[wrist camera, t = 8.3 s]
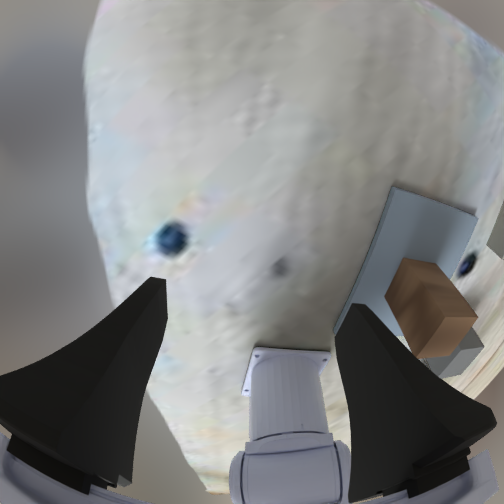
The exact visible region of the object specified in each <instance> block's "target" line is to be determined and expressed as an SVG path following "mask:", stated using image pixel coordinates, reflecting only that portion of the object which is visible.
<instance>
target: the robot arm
mask: <svg viewBox="0 0 504 504" xmlns="http://www.w3.org/2000/svg"><path fill="white" fill-rule="evenodd" d="M167 320H168V313H167V292H166V279H161V278H155V277H150V278H148V279H147V280H146V281H145V282H144V283H143V284H142V285H141V286H140V287H139V288H138V289H137V290H136V291H134V292H133V293H132V294H131V295H130V296H129V297H128V298H127V299H126V300H125V301H124V302H122V303H121V304H120V305H119V306H118V307H117V308H116V309H115V310H114V311H112V312H111V313H110V314H109V315H108V316H107V317H105V318H104V319H103V320H102V321H100V322H99V323H98V324H97V325H95V326H94V327H93V328H91V329H90V330H89V331H87V332H86V333H85V334H83V335H82V336H80V337H79V338H77V339H76V340H75V341H73V342H71V343H70V344H68V345H66V346H65V347H63V348H61V349H60V350H58V351H56V352H54V353H53V354H51V355H49V356H47V357H45V358H43V359H41V360H39V361H37V362H35V363H33V364H30V365H28V366H26V367H24V368H21V369H18V370H16V371H13V372H10V373H7V374H4V375H1V376H0V424H1V425H2V426H3V427H4V428H6V429H7V430H8V431H9V432H11V433H12V436H11V439H9V438H7V437H6V436H5V435H3V434H2V433H1V432H0V503H1V504H153V503H149V502H145V501H141V500H138V499H134V498H130V497H127V496H124V495H121V494H117V493H115V492H112V491H109V490H107V485H108V486H111V487H113V488H116V487H117V485H119V486H123V487H125V486H127V485H130V484H131V483H132V472H133V459H134V450H135V441H136V434H137V428H138V421H139V416H140V410H141V406H142V401H143V397H144V393H145V389H146V386H147V383H148V380H149V378H150V375H151V372H152V369H153V366H154V363H155V361H156V358H157V355H158V352H159V349H160V347H161V344H162V341H163V337H164V333H165V328H166V324H167ZM335 347H336V356H337V362H338V366H339V370H340V374H341V379H342V383H343V387H344V391H345V395H346V400H347V404H348V410H349V418H350V429H351V454H350V450H349V448H348V446H347V445H346V444H344V443H343V442H342V441H341V440H337V441H333V434H332V433H329V429H328V423H327V417H326V410H325V404H324V399H323V393H322V387H321V382H320V374H321V373H322V371H323V369H324V368H325V366H326V365H327V363H328V361H329V360H330V358H331V353H330V352H325V351H303V350H288V349H275V348H264V347H256V348H254V349H253V352H252V355H251V359H250V363H249V366H248V370H247V373H246V377H245V381H244V384H243V388H242V391H241V395H243V396H250V405H249V438H250V442H246V443H245V451H239V452H238V453H237V455H236V456H235V457H234V458H233V459H232V462H231V465H230V471H229V490H230V496H231V499H232V502H233V504H352V503H354V502H358V501H362V500H367V499H370V498H374V497H377V496H381V495H383V497H381V498H378V499H374V500H371V501H367V502H363V503H359V504H484V503H485V502H486V501H487V500H488V499H489V498H491V497H492V496H493V495H494V494H496V493H497V492H498V490H499V487H498V483H497V480H496V475H495V471H494V467H493V464H492V461H491V458H490V454H489V451H488V450H487V449H486V450H485V451H483V452H481V453H480V454H478V455H476V456H475V457H473V458H471V459H470V460H467V455H469V454H470V452H471V451H470V448H469V447H470V446H471V445H473V444H474V443H475V442H477V441H478V440H480V439H481V438H482V437H484V436H485V435H486V434H488V433H489V432H490V431H491V430H493V428H495V427H496V424H497V422H496V419H495V417H494V414H493V412H492V410H491V408H489V407H487V406H485V405H483V404H481V403H479V402H477V401H474V400H473V399H471V398H469V397H468V396H466V395H464V394H462V393H461V392H459V391H458V390H456V389H455V388H453V387H452V386H450V385H449V384H447V383H446V382H445V381H443V380H442V379H441V378H439V377H438V376H437V375H436V374H434V373H433V372H432V371H431V370H430V369H429V368H427V367H426V366H425V365H424V364H423V363H422V362H421V361H420V360H418V359H417V358H416V357H415V356H414V355H413V354H412V353H411V352H410V351H409V350H408V349H407V348H406V347H405V346H404V345H403V344H402V342H401V341H400V340H399V339H398V338H397V337H396V336H395V335H394V334H393V333H392V332H391V331H390V330H389V328H388V327H387V326H386V325H385V324H384V323H383V322H382V321H381V320H380V319H379V318H378V316H377V315H376V314H375V313H374V312H373V311H372V310H371V309H370V308H369V307H368V306H367V305H366V304H359V303H352V304H351V306H350V308H349V310H348V312H347V314H346V316H345V318H344V320H343V322H342V324H341V326H340V328H339V330H338V332H337V334H336V336H335Z"/></svg>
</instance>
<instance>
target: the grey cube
mask: <svg viewBox="0 0 504 504" xmlns="http://www.w3.org/2000/svg"><path fill="white" fill-rule="evenodd" d="M483 348H484V345H483V343H482V342H481V340H480V339H479V337H478V335H477V334H476V332H475V331H474V329H473V328H472V327H471V328H470V330H469V331H468V332H467V334H466V335H465V336H464V338H463V339H462V340H461V342H460V343H459V344H458V346H457V347H456V348H455V349H454V351H453V352H452V353H451V354H450V355H449V356H441V357H432V358H426V360H427V362H428V364H429V366H430V369H431V371H432V372H433V373H434V374H436V375H437V376H438V377H439V378H441V379H442V378H447V377H452V376H456V375H461V374H462V373H463V371H464V370H465V369H466V368H467V367H468V366H469V365H470V364H471V362H472V361H473V360H474V359H475V358H476V357H477V355H478V354H479V353H480V352H481V350H482V349H483Z"/></svg>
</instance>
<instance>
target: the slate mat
mask: <svg viewBox="0 0 504 504" xmlns="http://www.w3.org/2000/svg"><path fill="white" fill-rule="evenodd" d="M477 221H478V218H477V217H476V216H474V215H472V214H469V213H467V212H464V211H462V210H459V209H457V208H454V207H452V206H449V205H446V204H444V203H441V202H438V201H436V200H433V199H430V198H427V197H424V196H421V195H418V194H415V193H412V192H409V191H406V190H403V189H400V188H397V187H393V186H392V187H391V191H390V194H389V197H388V200H387V203H386V206H385V209H384V212H383V214H382V217H381V220H380V223H379V226H378V228H377V231H376V234H375V236H374V239H373V241H372V244H371V247H370V249H369V252H368V254H367V257H366V259H365V261H364V264H363V266H362V269H361V271H360V273H359V276H358V278H357V280H356V283H355V285H354V287H353V289H352V292H351V294H350V296H349V298H348V300H347V302H346V305H345V307H344V309H343V311H342V313H341V315H340V317H339V319H338V321H337V323H336V325H335V327H334V329H333V331H334V334H337V332H338V330H339V328H340V326H341V324H342V322H343V320H344V318H345V316H346V314H347V312H348V310H349V308H350V306H351V304H352V303H359V304H366V305H367V306H368V307H369V308H370V309H371V310H372V311H373V312H374V313H375V314H376V315H377V316H378V318H379V319H380V320H381V321H382V322H383V323H384V324H385V325H386V326H387V327H388V328H389V330H390V331H391V332H392V333H393V334H394V335H395V336H404V335H403V333H402V331H401V329H400V327H399V325H398V323H397V321H396V319H395V317H394V315H393V313H392V311H391V309H390V307H389V305H388V303H387V301H386V300H385V298H384V296H385V294H386V292H387V290H388V288H389V286H390V284H391V282H392V280H393V278H394V276H395V274H396V271H397V269H398V267H399V265H400V263H401V261H402V259H403V258H409V259H414V260H420V261H425V262H431V263H436V264H437V265H438V266H439V267H440V269H441V270H442V271H443V272H444V273H445V275H446V276H447V277H448V278H449V279H450V278H451V276H452V275H453V273H454V271H455V269H456V267H457V265H458V263H459V261H460V259H461V257H462V255H463V253H464V251H465V248H466V246H467V244H468V242H469V240H470V237H471V235H472V233H473V230H474V228H475V226H476V223H477Z"/></svg>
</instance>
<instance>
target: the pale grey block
mask: <svg viewBox="0 0 504 504" xmlns="http://www.w3.org/2000/svg"><path fill="white" fill-rule="evenodd" d="M486 245H487V246H488V247H489V248H490V249H492V250H493V251H494V252H495V253H496V254H497V255H498V256H499V257H500V258H501V259H503V260H504V201H503V204H502V207H501V210H500V213H499V215H498V218H497V220H496V223H495V225H494V228H493V230H492V233H491V235H490V237H489V240H488V242H487V244H486Z"/></svg>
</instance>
